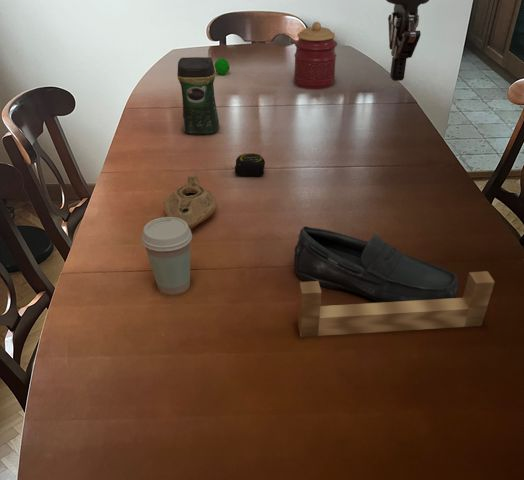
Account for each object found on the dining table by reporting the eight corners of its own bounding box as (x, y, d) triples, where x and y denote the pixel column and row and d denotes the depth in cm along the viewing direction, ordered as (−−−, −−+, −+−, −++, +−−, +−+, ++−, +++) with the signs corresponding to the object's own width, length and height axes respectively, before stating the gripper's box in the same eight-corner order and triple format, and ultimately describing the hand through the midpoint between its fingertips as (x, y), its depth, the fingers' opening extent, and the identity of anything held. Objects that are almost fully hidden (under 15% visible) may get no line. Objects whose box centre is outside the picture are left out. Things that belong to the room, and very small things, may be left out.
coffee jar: (220, 125, 163) (216, 53, 151) (217, 136, 158) (212, 62, 145) (185, 125, 164) (178, 53, 152) (181, 136, 158) (173, 62, 146)
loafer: (450, 322, 98) (463, 271, 91) (284, 291, 105) (284, 241, 99) (456, 287, 105) (469, 238, 98) (300, 260, 113) (302, 212, 106)
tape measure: (234, 179, 139) (233, 164, 136) (238, 166, 144) (237, 151, 141) (263, 180, 138) (263, 164, 136) (266, 167, 143) (266, 152, 141)
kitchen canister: (285, 83, 189) (286, 22, 177) (313, 74, 195) (315, 14, 184) (315, 93, 182) (317, 29, 170) (343, 83, 188) (347, 21, 176)
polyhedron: (232, 74, 197) (232, 58, 194) (222, 77, 194) (221, 62, 191) (222, 71, 199) (221, 55, 196) (211, 74, 197) (210, 59, 194)
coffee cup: (195, 270, 111) (189, 212, 103) (199, 297, 104) (193, 238, 96) (149, 275, 110) (139, 217, 102) (150, 302, 103) (140, 243, 95)
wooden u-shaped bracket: (474, 315, 99) (487, 271, 93) (481, 326, 97) (494, 282, 91) (298, 326, 98) (299, 281, 92) (300, 338, 96) (301, 293, 90)
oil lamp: (166, 242, 118) (161, 206, 113) (165, 206, 129) (160, 172, 124) (221, 237, 119) (218, 201, 114) (215, 202, 130) (212, 168, 125)
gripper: (379, -39, 101) (368, 69, 113) (398, -24, 91) (384, 92, 103) (422, -40, 102) (407, 67, 113) (446, -25, 92) (427, 90, 103)
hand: (396, 79), depth 108 cm, fingers closed
